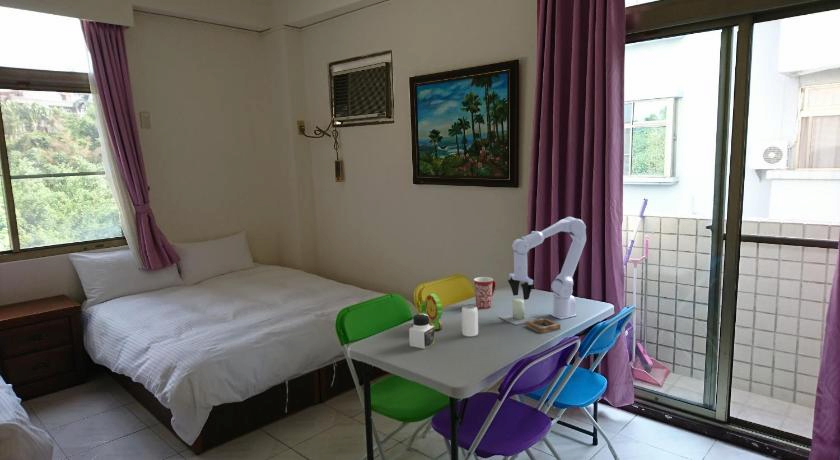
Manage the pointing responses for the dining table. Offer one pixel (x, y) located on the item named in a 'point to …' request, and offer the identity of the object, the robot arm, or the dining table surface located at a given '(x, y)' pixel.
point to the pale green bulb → (518, 309)
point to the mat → (517, 322)
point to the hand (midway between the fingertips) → (520, 297)
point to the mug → (484, 291)
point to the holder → (550, 327)
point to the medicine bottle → (421, 332)
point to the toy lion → (433, 310)
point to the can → (469, 320)
